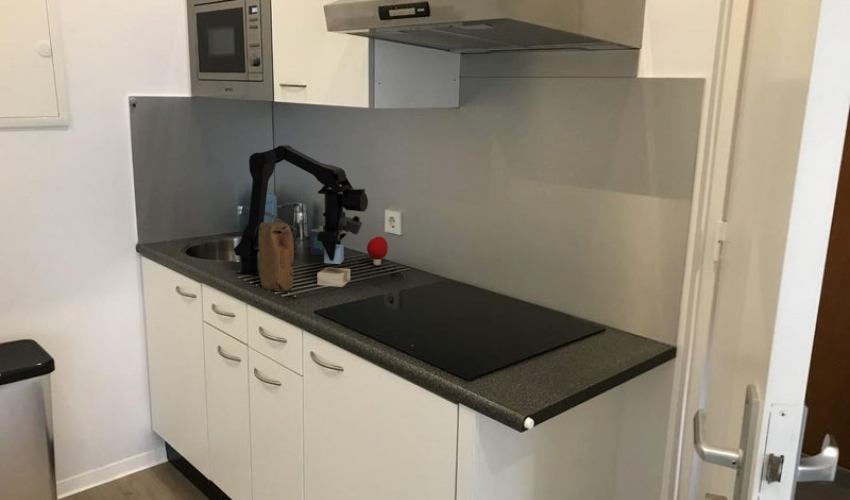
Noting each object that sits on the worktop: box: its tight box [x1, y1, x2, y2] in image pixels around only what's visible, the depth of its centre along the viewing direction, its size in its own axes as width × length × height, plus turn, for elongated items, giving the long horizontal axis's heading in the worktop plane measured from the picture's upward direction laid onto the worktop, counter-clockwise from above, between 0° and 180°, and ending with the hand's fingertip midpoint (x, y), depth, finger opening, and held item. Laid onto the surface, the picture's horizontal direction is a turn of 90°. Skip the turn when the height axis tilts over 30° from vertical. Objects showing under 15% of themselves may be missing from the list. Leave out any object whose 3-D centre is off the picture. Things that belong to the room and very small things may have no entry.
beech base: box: [316, 266, 351, 288], centre depth 212 cm, size 8×8×4 cm
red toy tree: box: [366, 236, 389, 267], centre depth 234 cm, size 9×7×10 cm
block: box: [258, 221, 295, 292], centre depth 203 cm, size 11×8×20 cm
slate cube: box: [323, 244, 345, 265], centre depth 211 cm, size 5×5×5 cm
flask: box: [309, 225, 324, 257], centre depth 250 cm, size 9×3×11 cm, turn 72°
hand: (333, 258), depth 211 cm, fingers closed on slate cube, 5 cm apart
